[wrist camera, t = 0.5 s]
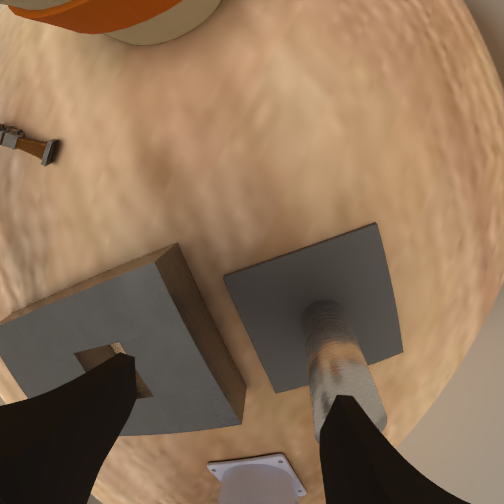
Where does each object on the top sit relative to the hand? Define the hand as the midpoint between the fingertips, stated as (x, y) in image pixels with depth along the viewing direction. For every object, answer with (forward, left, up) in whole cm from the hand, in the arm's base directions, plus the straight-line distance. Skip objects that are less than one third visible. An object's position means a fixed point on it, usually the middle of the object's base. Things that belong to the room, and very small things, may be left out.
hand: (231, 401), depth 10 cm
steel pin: (-3, -4, -10) cm, 11 cm away
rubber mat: (-3, -4, -10) cm, 11 cm away
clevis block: (-1, +13, -10) cm, 17 cm away
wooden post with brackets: (+16, +12, -11) cm, 23 cm away
